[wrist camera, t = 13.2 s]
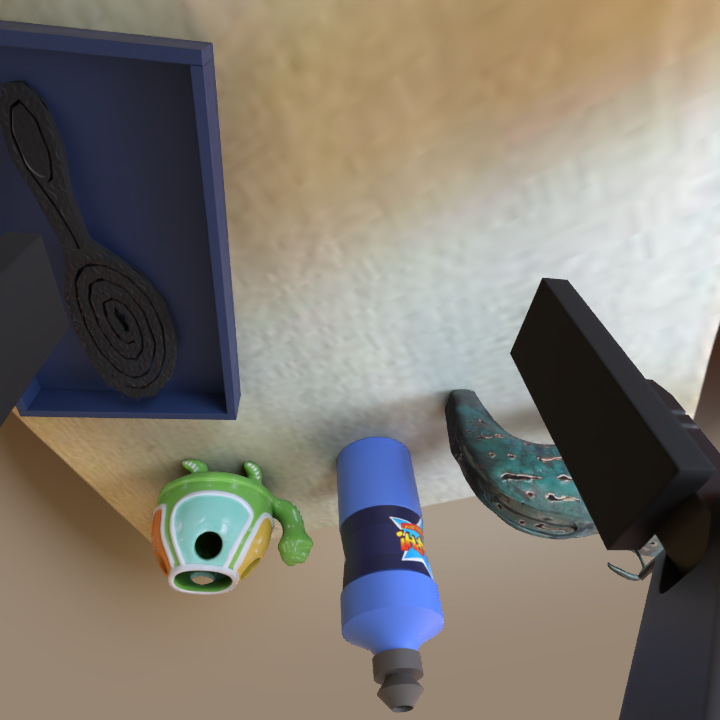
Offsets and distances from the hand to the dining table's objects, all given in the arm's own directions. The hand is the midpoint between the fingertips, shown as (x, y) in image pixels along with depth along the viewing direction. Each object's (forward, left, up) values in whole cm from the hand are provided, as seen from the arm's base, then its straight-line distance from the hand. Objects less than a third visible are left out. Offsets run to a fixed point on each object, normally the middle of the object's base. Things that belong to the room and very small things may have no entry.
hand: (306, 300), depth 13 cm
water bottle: (+38, +9, -25) cm, 47 cm away
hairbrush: (+12, -17, -25) cm, 32 cm away
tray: (+12, -16, -25) cm, 32 cm away
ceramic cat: (+28, +25, -25) cm, 45 cm away
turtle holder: (+43, -8, -25) cm, 51 cm away
